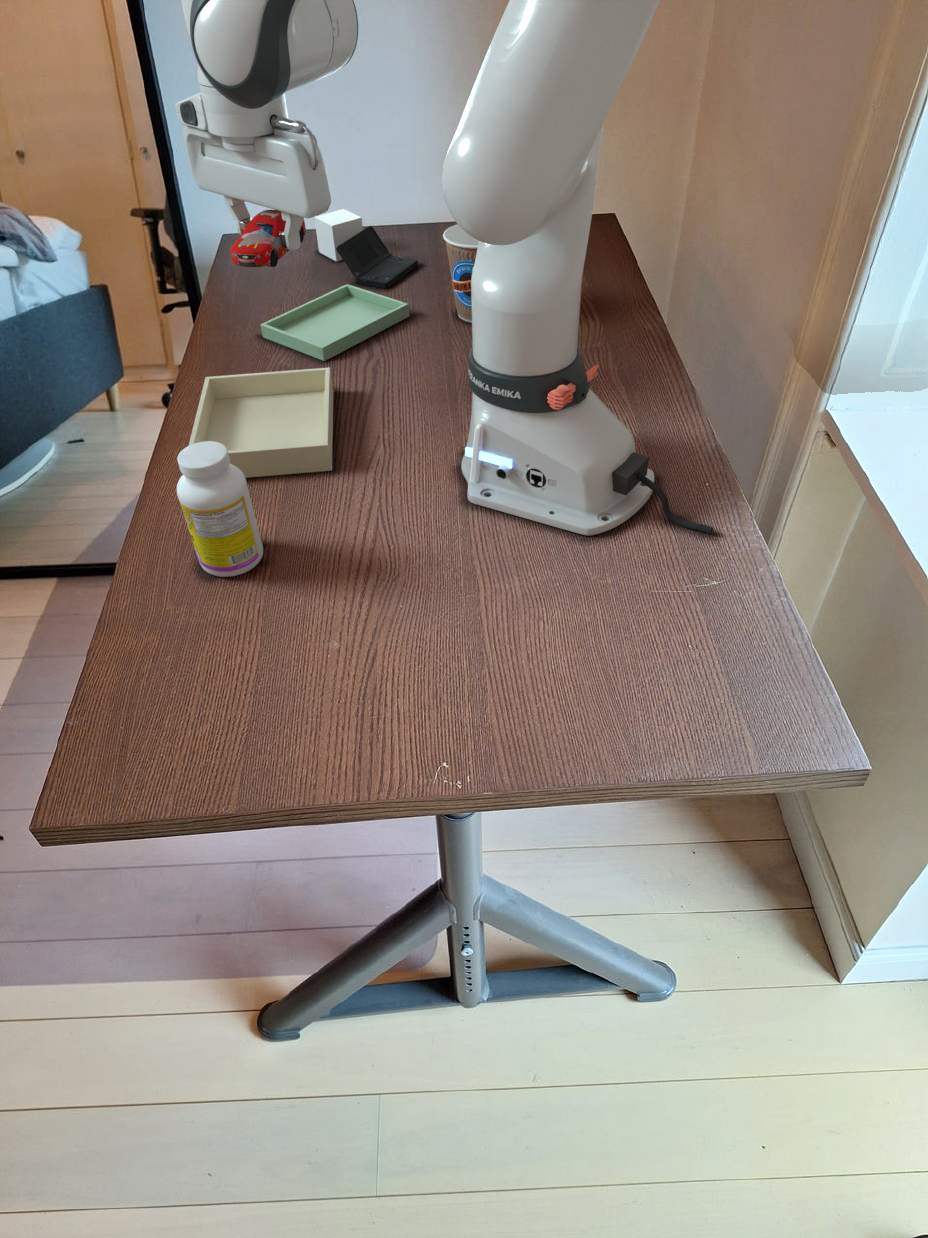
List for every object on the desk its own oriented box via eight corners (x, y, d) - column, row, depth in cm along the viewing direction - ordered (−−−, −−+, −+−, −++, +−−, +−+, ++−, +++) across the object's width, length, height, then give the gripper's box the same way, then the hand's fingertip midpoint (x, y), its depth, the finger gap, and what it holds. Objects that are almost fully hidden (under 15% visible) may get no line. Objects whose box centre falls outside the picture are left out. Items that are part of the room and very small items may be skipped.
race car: (268, 275, 97) (261, 239, 95) (225, 271, 99) (217, 235, 96) (314, 234, 106) (309, 200, 104) (275, 230, 108) (269, 197, 105)
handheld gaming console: (398, 279, 137) (360, 223, 134) (367, 303, 141) (329, 250, 138) (423, 263, 146) (388, 210, 143) (393, 286, 150) (358, 235, 147)
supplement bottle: (212, 538, 91) (181, 433, 83) (272, 540, 91) (247, 435, 82) (190, 578, 87) (155, 472, 78) (253, 581, 86) (225, 474, 77)
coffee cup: (437, 324, 128) (432, 242, 120) (459, 297, 135) (456, 217, 127) (502, 332, 126) (502, 248, 117) (521, 303, 133) (523, 223, 124)
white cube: (347, 243, 154) (343, 208, 150) (365, 252, 150) (361, 217, 146) (318, 252, 151) (313, 216, 147) (336, 261, 148) (331, 225, 144)
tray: (409, 316, 131) (408, 303, 129) (324, 361, 121) (322, 347, 119) (348, 296, 137) (347, 283, 135) (262, 337, 127) (260, 324, 125)
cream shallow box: (211, 400, 113) (205, 376, 111) (333, 391, 114) (329, 367, 112) (193, 482, 99) (185, 456, 97) (332, 470, 100) (327, 444, 98)
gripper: (334, 116, 89) (350, 251, 99) (209, 92, 99) (234, 217, 108) (290, 130, 86) (311, 268, 95) (164, 103, 95) (195, 232, 105)
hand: (269, 241), depth 102 cm, fingers closed on race car, 6 cm apart
